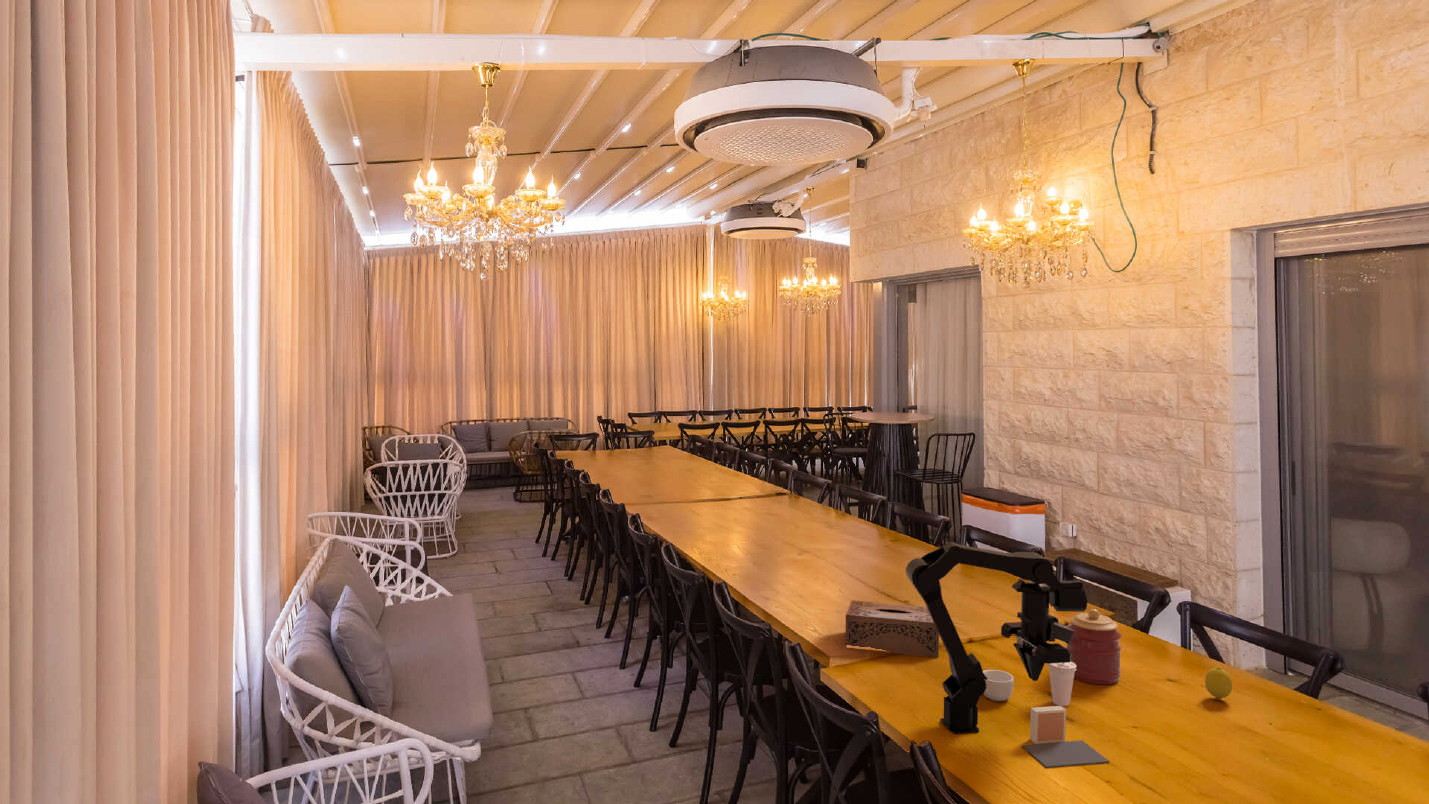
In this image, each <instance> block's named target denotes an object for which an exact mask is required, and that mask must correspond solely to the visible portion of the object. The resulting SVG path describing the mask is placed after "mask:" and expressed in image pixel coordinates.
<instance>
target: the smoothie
mask: <svg viewBox="0 0 1429 804" xmlns="http://www.w3.org/2000/svg"><path fill="white" fill-rule="evenodd" d="M1062 646H1063V647H1065V648H1066V645H1062ZM1046 664H1047V663H1046ZM1047 667H1048V671H1049V678H1050V680H1049V681H1050V689H1051V697H1052V698H1051V699H1052V703H1053V705H1055V706H1062V707H1068V706H1070V704H1071V697H1072V691H1073V683H1074V679H1075V678H1074V673H1075V671H1076V664H1075V663H1073V662H1067V663H1051V664H1047Z"/></svg>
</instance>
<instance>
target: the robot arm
mask: <svg viewBox="0 0 1429 804" xmlns="http://www.w3.org/2000/svg"><path fill="white" fill-rule="evenodd" d="M958 564H961V565H966V566H971V567H977V568H981V569H982V568H983V569H989V570H992V571H999V572H1005V573H1009V574H1012V575H1015V576H1017V577H1019V579H1018V580H1017V581H1016V582H1015V583H1013V584H1012V585H1011V588H1012V589H1013V590H1014V591H1016V592H1017V593H1021V602H1020V603H1021V606H1020V607H1021V608H1020V612H1019V611H1018V612H1017V613H1016V615H1017V616H1016V617H1017V618H1019V619H1020V621H1013V622H1004V623H1003V624H1002V625H1001V627H1000V629H1001V630H1000V635H1001V636H1003V637H1005V638H1006V639H1010V638H1011V637H1012V635H1015V638H1016V642H1014V643H1013V647H1014V648H1015V650H1016V652H1017V653H1018V656H1019V658H1020V660H1021V662H1022V663H1023V664H1022V665H1023V667H1024V668H1025V670H1026V673H1027V675H1028V678H1029V679H1030V680H1032V681H1033V682H1037V681H1038V680H1039V678H1040V677H1041V673H1042V671H1043V669H1044V666H1045V664H1051V663H1067V662H1071V652H1070V651H1069V650H1068V649H1067V647H1066V646H1065V647H1063V646H1064V645H1062V644H1060V643H1058V642H1056V640H1058V641H1060V642H1061V641H1062V642H1064V643H1065V644H1066V645H1067V644H1070V642H1071V640H1072V637H1073V634H1074V630H1072V629H1070V628H1068V627H1067V626H1066V625H1064V624H1062V623H1060V622H1059V618H1058V617H1056V616H1054V615H1050V607H1052V608H1054V610H1055V611H1056V612H1065V613H1066V612H1071V613H1072V612H1076V613H1077V612H1080V613H1085V611H1086V610H1087V607H1088V598H1087V595H1086V592H1085V589H1084V587H1083V586H1084V584H1083V583H1084V582H1083V581H1080V580H1079V579H1072V580H1060V579H1058V577H1057V576H1056V575H1055V574H1054V567H1053V566H1054V565H1053V564H1052V563H1051V561H1050V560H1048V559H1047V558H1045V557H1044V556H1042V555H1040V554H1039V553H1038V552H1037V553H1036V552H1034V551H1015V552H1002V551H997V550H991V549H987V548H985V549H984V548H980V547H975V546H969V545H963V544H958V543H956V542H953V541H952V542H951V541H949V542H947V543H946V544H944V545H942V546H941V547H939V548H936V549H934V550H933V551H930V552H927V553H926V554H925V555H923V556H921V557H920V558H918V557H917V558H914V559H912V560H910V561H909V562H908V564H907V565H906V567H905V573H906V577H907V579H908V580H909V581H910V582H911V584H912V585H913V588H915V590H916V591H917V593H918V594H919V595H920V597H921V598H922V600H923V601H924V603H925V607H927V608H928V611H929V613H930V615H931V617H932V620H933V622H934V624H935V626H936V629H937V631H938V633H939V638H940V640H941V642H942V644H943V646H944V648H945V651H946V653H947V655H948V662H949V668H950V673H951V674H950V675H949V676H948V677H947V678H946V679H945V680H944V681H943V682H942V683H941V684H942V689H943V691H944V692H945V694H946V695H947V696H944V697H943V717H942V718H939V720H940V723H942V725H943V726H944V727H946V729H947V730H948V731H949V732H950V733H951V734H962V733H963V734H964V733H966V734H967V733H976V732H977V733H978V732H980V728H979V727H978V722H979V719H978V718H979V716H978V715H979V708H978V706H977V705H978V703H979V701H980V697H982V696H984V692H985V690H986V688H987V685H986V681H985V680H987V679H988V678H987V677H986V676H985V675H984V673H983V671H984V670H983V667H982V663H981V662H980V660H979V659H978V658H977V657H976V656H975V655H974V653H973V652H970V653H969V654H967V651H966V648H965V646H964V645H963V642H962V640H961V637H960V635H959V633H958V631H957V629H956V626H955V625H954V621H953V620H952V617H951V615H950V612H949V610H948V609H947V606H946V604H945V602H944V600H943V596H942V595H943V594H942V587H941V586H942V585H941V583H940V580H941V579H943V578H944V577H946V576H947V575H948V574H949V572H950V571H951V570H953V568H955V566H957V565H958ZM1024 580H1027V581H1029V582H1025V581H1024ZM1044 584H1045V585H1046V586H1044ZM1042 585H1043V586H1042ZM1051 642H1053V643H1051ZM1055 642H1056V643H1055ZM984 679H985V680H984Z"/></svg>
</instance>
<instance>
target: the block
mask: <svg viewBox="0 0 1429 804" xmlns="http://www.w3.org/2000/svg"><path fill="white" fill-rule="evenodd" d="M1066 715H1067V709H1065V707H1064V706H1059V705H1052V706H1039V707H1030V721H1029V722H1030V723H1029V724H1030V727H1029V728H1030V729H1029V731H1030V733H1029V737H1030V740H1031V742H1033V744H1040V743H1053V742H1065V741H1066V728H1067V727H1066V725H1067V724H1066V723H1067V721H1066V720H1067V716H1066Z"/></svg>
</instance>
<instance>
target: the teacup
mask: <svg viewBox="0 0 1429 804" xmlns="http://www.w3.org/2000/svg"><path fill="white" fill-rule="evenodd" d="M982 671H983V673H984V675H985V676H986V677H987V678H988V679H987V680H985V679H984V680H985V681H986V685H987V688H986V690H985V692H984V694H983V696H985V697H986V698H988V699H989V700H991V701H995V702H1005V701H1006V700H1009V698H1011V696H1012V694H1013V691H1014V683H1015V678H1014V676H1013V675H1012V674H1010V673H1009V672H1006V671H1004V670H998V669H985V670H982Z"/></svg>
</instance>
